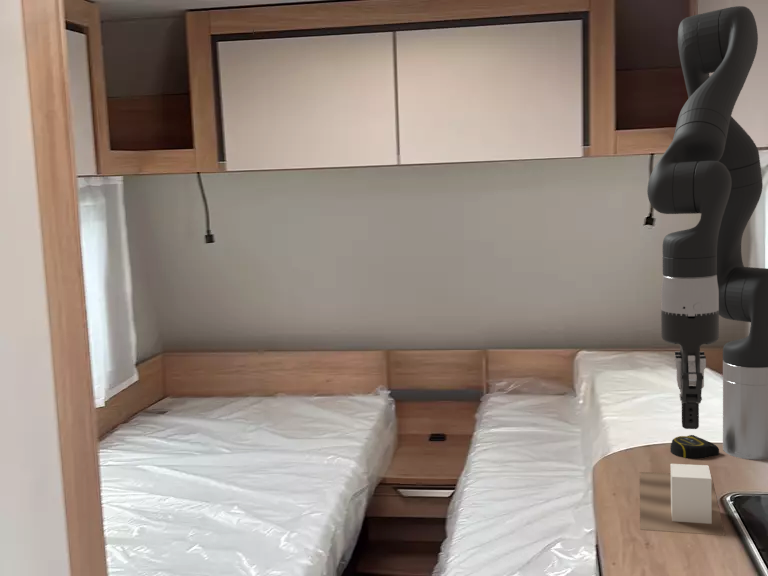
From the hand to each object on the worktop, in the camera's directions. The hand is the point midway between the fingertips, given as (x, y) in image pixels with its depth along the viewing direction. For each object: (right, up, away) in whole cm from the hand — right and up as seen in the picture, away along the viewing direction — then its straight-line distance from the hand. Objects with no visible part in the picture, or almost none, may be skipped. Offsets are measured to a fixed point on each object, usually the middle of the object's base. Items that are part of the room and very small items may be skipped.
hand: (690, 427), depth 118 cm
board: (+1, -14, +7) cm, 16 cm away
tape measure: (+11, -11, +27) cm, 31 cm away
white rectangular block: (+1, -13, +2) cm, 13 cm away
